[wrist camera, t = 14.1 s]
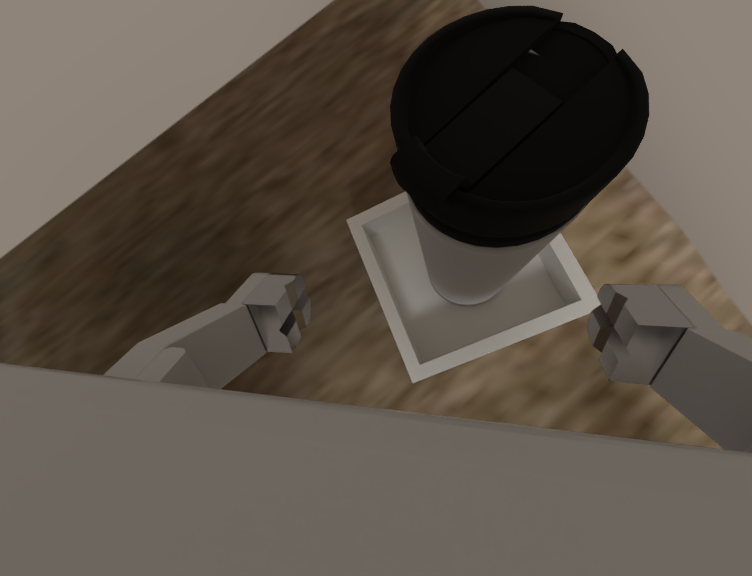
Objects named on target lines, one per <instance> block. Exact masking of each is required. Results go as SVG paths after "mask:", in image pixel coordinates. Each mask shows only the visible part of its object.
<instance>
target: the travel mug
mask: <svg viewBox="0 0 752 576" xmlns="http://www.w3.org/2000/svg"><path fill="white" fill-rule="evenodd" d="M562 15H563V13H560V12H556V11H552V10H548V9H544V8H539V7H535V6H507V7H500V8H494V9H487V10H484V11H480V12H477V13H474V14H471V15H468V16H465V17H462V18H460V19H458V20H456V21H454V22H452V23H450V24H448V25H446V26H444V27H443V28H441V29H440V30H438V31H437V32H436V33H434V34H433V35H431V36H430V37H428V38H427V39H426V40H425V41H424V42H423V43H422V44H421V45H420V46H419V47H418V48H417V49H416V50H415V51H414V52H413V53H412V55H411V56H410V58H409V59H408V60H407V62H406V63H405V65H404V66H403V68H402V69H401V71H400V74H399V76H398V79H397V81H396V83H395V86H394V88H393V94H392V99H391V105H390V112H391V127H392V131H393V135H394V138H395V142H396V147H397V152H396V153H395V154H394V155H393V156H392V158H391V161H390V164H391V167H392V171H393V174H394V176H395V178H396V180H397V182H398V184H399V185H400V186H401V187H402V188H403V189H404V190H405V191H406V192H407V196H408V200H409V204H410V208H411V211H412V215H413V219H414V223H415V226H416V230H417V234H418V238H419V242H420V245H421V249H422V253H423V257H424V261H425V264H426V268H427V272H428V276H429V279H430V282H431V284H432V286H433V288H434V290H435V291H436V292H437V293H438V294H439V295H440V296H441V297H442V298H443V299H445V300H447V301H449V302H450V303H453V304H456V305H462V306H473V305H477V304H481V303H483V302H485V301H487V300H489V299H490V298H492V297H493V296H494V295H495V294H496V293H497V292H498V291H499V290H501V289H502V288H503V287H504V286H505V285H506V284H507V283H508V282H509V281H510V280H511V279H512V278H513V277H514V276H515V275H516V274H517V273H518V272H519V271H521V270H522V269H523V268H524V267H525V266H526V265H527V264H528V263H529V262H530V261H531V260H532V259H533V258H534V257H535V256H536V255H537V254H538V253H540V252H541V251H542V250H543V249H544V248H545V247H546V246H547V245H548V244H549V243H550V242H551V241H552V240H553V239H554V238H555V237H556V236H557V235H558V234H560V233H561V232H562V231H563V230H564V229H565V227H566V226H568V225H569V224H570V223H571V222H572V221H573V220H574V219H575V218H576V217H577V216H578V215H579V213H580V212H581V211H582V210H583V209H584V208H585V207H586V206H587V204H588V203H589V202H590V201H591V200H592V199H593V198H594V197H595V196H596V195H597V194H598V193H599V192H600V191H601V190H602V189H604V188H605V187H606V186H607V185H608V184H609V183H610V182H611V181H612V180H613V179H614V178H615V177H616V176H617V175H618V174H619V173H620V171H621V170H622V169H623V168H624V167H625V166H626V165H627V163H628V162H629V161H630V160H631V159H632V158H633V156H634V154H635V152H636V151H637V149H638V147H639V145H640V143H641V141H642V139H643V137H644V134H645V130H646V126H647V122H648V117H649V93H648V90H647V86H646V83H645V80H644V76H643V73H642V72H641V70H640V69H639V68H638V67H637V65H636V64H635V63H634V62H633V61H632V59H631V58H630V57H629V56H628V55H627V53H626V52H625V51H624V50H623V49H622V50H621V51H620V52H619V53H616V51H615V49H614V47H613V46H612V45H611V44H610V43H609V42H607V41H606V40H604V39H603V38H602V37H600V36H599V35H598V34H596V33H595V32H593V31H591V30H589V29H587V28H584V27H582V26H580V25H578V24H576V23H571V22H561V21H560V20H561V18H562Z"/></svg>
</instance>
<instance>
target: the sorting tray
mask: <svg viewBox="0 0 752 576" xmlns="http://www.w3.org/2000/svg"><path fill="white" fill-rule="evenodd" d="M346 221H347V223H348V226H349V228H350V231H351V233H352V236H353V238H354V241H355V243H356V245H357V248H358V250H359V253H360V255H361V258H362V260H363V263H364V265H365V268H366V270H367V272H368V275H369V277H370V280H371V282H372V285H373V287H374V290H375V292H376V294H377V297H378V299H379V302H380V304H381V307H382V309H383V312H384V314H385V317H386V319H387V321H388V324H389V326H390V329H391V331H392V334H393V336H394V339H395V341H396V344H397V346H398V348H399V351H400V353H401V356H402V358H403V361H404V363H405V366H406V368H407V371H408V373H409V375H410V378H411V380H412V383H415V382H417V381H420V380H422V379H425V378H427V377H430V376H432V375H435V374H438V373H440V372H443V371H445V370H448V369H450V368H453V367H455V366H458V365H460V364H463V363H465V362H468V361H470V360H473V359H475V358H478V357H480V356H483V355H486V354H488V353H491V352H493V351H496V350H498V349H501V348H503V347H506V346H508V345H511V344H513V343H516V342H518V341H521V340H523V339H526V338H528V337H531V336H534V335H536V334H539V333H541V332H544V331H546V330H549V329H551V328H554V327H556V326H559V325H561V324H564V323H566V322H569V321H571V320H574V319H576V318H579V317H582V316H584V315H587V314H589V313H591V311H592V310H593V309H595V308H596V307H598V306H599V305H601V303H600V302H599V300H598V298H597V294H596V293H595V291H594V289H593V287H592V286H591V284H590V282H589V281H588V279H587V277H586V275H585V274H584V272H583V270H582V269H581V267H580V265H579V263H578V262H577V260H576V258H575V257H574V255H573V253H572V251H571V250H570V248H569V246H568V245H567V243H566V241H565V239H564V238H563V236H562V234H561V233H560V234H558V235H557V236H556V237H555V238H554V239H553V240H552V241H551V242H550V243H549V244H548V245H547V246H546V247H545V248H544V249H543V250H542V251H541V252H540V253H538V254H537V255H536V256H535V257H534V258H533V259H532V260H531V261H530V262H529V263H528V264H527V265H526V266H525V267H524V268H523V269H522V270H521V271H519V272H518V273H517V274H516V275H515V276H514V277H513V278H512V279H511V280H510V281H509V282H508V283H507V284H506V285H505V286H504V287H503V288H502V289H501V290H499V291H498V292H497V293H496V294H495V295H494V296H493V297H492V298H490V299H489V300H487V301H485V302H483V303H481V304H477V305H473V306H462V305H456V304H453V303H450V302H449V301H447V300H445V299H443V298H442V297H441V296H440V295H439V294H438V293H437V292H436V291H435V290H434V288H433V286H432V284H431V282H430V279H429V276H428V272H427V268H426V264H425V261H424V257H423V253H422V249H421V245H420V242H419V238H418V234H417V230H416V226H415V223H414V219H413V215H412V211H411V208H410V204H409V200H408V196H407V192H406V191H405V192H403V193H401V194H399V195H397V196H395V197H393V198H391V199H389V200H387V201H385V202H382V203H380V204H378V205H376V206H374V207H372V208H370V209H368V210H366V211H364V212H362V213H360V214H358V215H356V216H353V217H351V218H349V219H347V220H346Z"/></svg>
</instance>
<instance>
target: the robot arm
mask: <svg viewBox="0 0 752 576" xmlns="http://www.w3.org/2000/svg"><path fill="white" fill-rule="evenodd" d="M305 288H306V284H305V281H304V277H302V276H301V275H299V274H280V273H253V274H252V275H251V276H250V277H249V278H248V279H247V280H246V281H245V282H244V283H243V284H242V286H241V287H240V288H239V289H238V290H237V291H236V292H235V293H234V294H233V295H232V296H231V298H230V299H229V300H228V301H227V302H226V303H220V304H218V305H216V306H214V307H212V308H210V309H208V310H205V311H203V312H201V313H199V314H197V315H195V316H193V317H191V318H189V319H187V320H185V321H182V322H180V323H178V324H176V325H174V326H172V327H170V328H168V329H166V330H164V331H162V332H159V333H157V334H155V335H153V336H151V337H149V338H147V339H145V340H143V341H141V342H138V343H137V344H136V345H135V346H134V347H133V348H132V349H131V350H130V351H129V352H128V353H126V354H125V355H124V356H123V357H122V358H121V359H120V360H119V361H118V362H117V363H116V364H115V365H113V366H112V367H111V368H110V369H109V370H108V371H107V372H106V373H105V374H104V375H97V374H88V373H80V372H72V371H63V370H55V369H47V368H38V367H30V366H21V365H13V364H5V363H0V576H752V339H751V338H749V337H747V336H745V335H743V334H741V333H738V332H736V331H729V330H725V329H724V328H723V327H722V326H721V325H720V324H719V323H718V322H717V321H716V320H715V319H714V318H713V317H712V316H711V315H710V313H709V312H708V311H707V310H706V309H705V308H704V307H703V306H702V305H701V304H700V303H699V302H698V301H697V300H696V299H695V298H694V297H693V296H692V295H691V294H690V293H689V292H688V291H687V290H686V289H685V288H684V287H682V286H679V285H674V284H652V285H629V284H604V285H603V287H602V288H601V289H600V291H599V293H598V296H597V298H598V300H599V302H600V303H601V305H599V306H598V307H596V308H595V309H593V310H592V311H591V314H590V317H589V320H588V334H589V339H590V341H591V343H592V345H593V347H595V348H596V349H598V350H599V351H600V352H602V354H601V356H600V358H599V360H600V363H601V365H602V367H603V369H604V371H605V373H606V375H607V377H608V379H609V381H617V382H626V383H635V384H644V385H651V386H650V387H651V388H652V389H653V390H654V391H656V392H657V393H658V394H659V395H660V396H661V397H663V398H664V399H665V400H666V401H667V402H669V403H670V404H671V405H672V406H673V407H675V408H676V409H677V410H678V411H679V412H681V413H682V414H683V415H684V416H685V417H686V418H688V419H689V420H690V421H691V422H692V423H694V424H695V425H696V426H697V427H698V428H700V429H701V430H702V431H703V432H704V433H705V434H707V435H708V436H709V437H710V438H711V439H713V440H714V441H715V442H716V443H717V444H719V445H720V446H721V447H722V448H723V449H715V448H707V447H699V446H690V445H682V444H674V443H665V442H657V441H649V440H640V439H632V438H623V437H615V436H607V435H598V434H590V433H582V432H573V431H565V430H557V429H548V428H540V427H532V426H523V425H515V424H507V423H498V422H490V421H482V420H473V419H465V418H457V417H448V416H440V415H432V414H423V413H415V412H407V411H398V410H390V409H381V408H373V407H365V406H356V405H348V404H340V403H331V402H323V401H314V400H306V399H298V398H289V397H281V396H273V395H264V394H256V393H248V392H239V391H231V390H222V388H223V387H224V386H225V385H227V384H228V383H229V382H230V381H232V380H233V379H234V378H235V377H237V376H238V375H239V374H241V373H242V372H243V371H244V370H246V369H247V368H248V367H249V366H251V365H252V364H253V363H254V362H256V361H257V360H258V359H260V358H261V357H262V356H263V355H265V354H266V352H282V353H293V351H294V349H295V348H296V346H297V344H298V342H299V340H300V338H301V335H300V332H299V331H301V330H302V329H304V328H305V327H307V325H308V323H309V321H310V317H311V312H312V309H311V302H310V298H309V297H308V296H307V295H306V294H305V293H304V292H303V291H304V289H305ZM724 449H725V450H724Z"/></svg>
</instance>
